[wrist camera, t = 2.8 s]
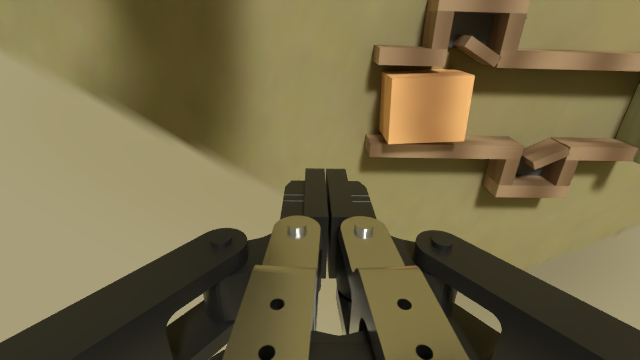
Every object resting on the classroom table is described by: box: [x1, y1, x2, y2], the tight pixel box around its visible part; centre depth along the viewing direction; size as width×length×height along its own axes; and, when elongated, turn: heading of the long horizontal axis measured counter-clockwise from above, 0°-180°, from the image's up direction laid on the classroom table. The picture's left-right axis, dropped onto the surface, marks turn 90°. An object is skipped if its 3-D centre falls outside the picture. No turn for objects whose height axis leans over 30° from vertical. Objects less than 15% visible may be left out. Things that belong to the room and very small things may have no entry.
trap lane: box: [365, 0, 640, 198], centre depth 27 cm, size 24×16×4 cm, turn 89°
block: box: [379, 69, 475, 144], centre depth 27 cm, size 6×5×4 cm
